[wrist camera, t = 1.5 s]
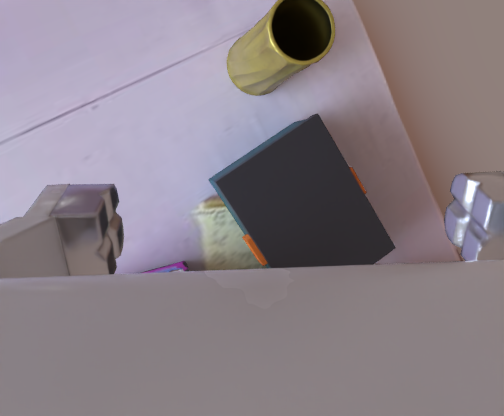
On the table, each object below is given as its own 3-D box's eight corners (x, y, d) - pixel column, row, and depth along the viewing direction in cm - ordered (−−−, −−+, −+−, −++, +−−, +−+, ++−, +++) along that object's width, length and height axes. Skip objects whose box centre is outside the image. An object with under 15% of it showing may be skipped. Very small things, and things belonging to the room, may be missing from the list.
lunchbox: (201, 181, 48) (210, 185, 42) (299, 116, 50) (322, 110, 44) (279, 299, 51) (299, 319, 45) (369, 234, 53) (399, 245, 47)
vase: (237, 24, 47) (277, -31, 34) (292, 47, 49) (352, 4, 35) (218, 83, 48) (250, 52, 34) (274, 104, 49) (326, 83, 35)
